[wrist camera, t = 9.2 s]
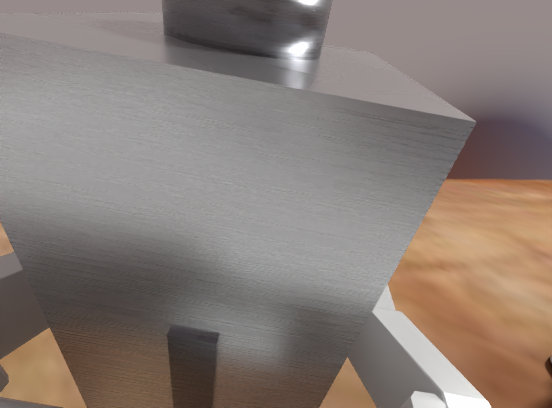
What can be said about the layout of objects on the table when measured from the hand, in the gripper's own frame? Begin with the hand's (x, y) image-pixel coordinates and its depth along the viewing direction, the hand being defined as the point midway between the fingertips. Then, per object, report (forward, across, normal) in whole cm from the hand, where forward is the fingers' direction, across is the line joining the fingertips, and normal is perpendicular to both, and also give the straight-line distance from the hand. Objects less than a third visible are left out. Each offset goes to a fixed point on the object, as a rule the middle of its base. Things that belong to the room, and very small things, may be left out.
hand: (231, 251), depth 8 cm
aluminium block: (-1, 0, +7) cm, 7 cm away
